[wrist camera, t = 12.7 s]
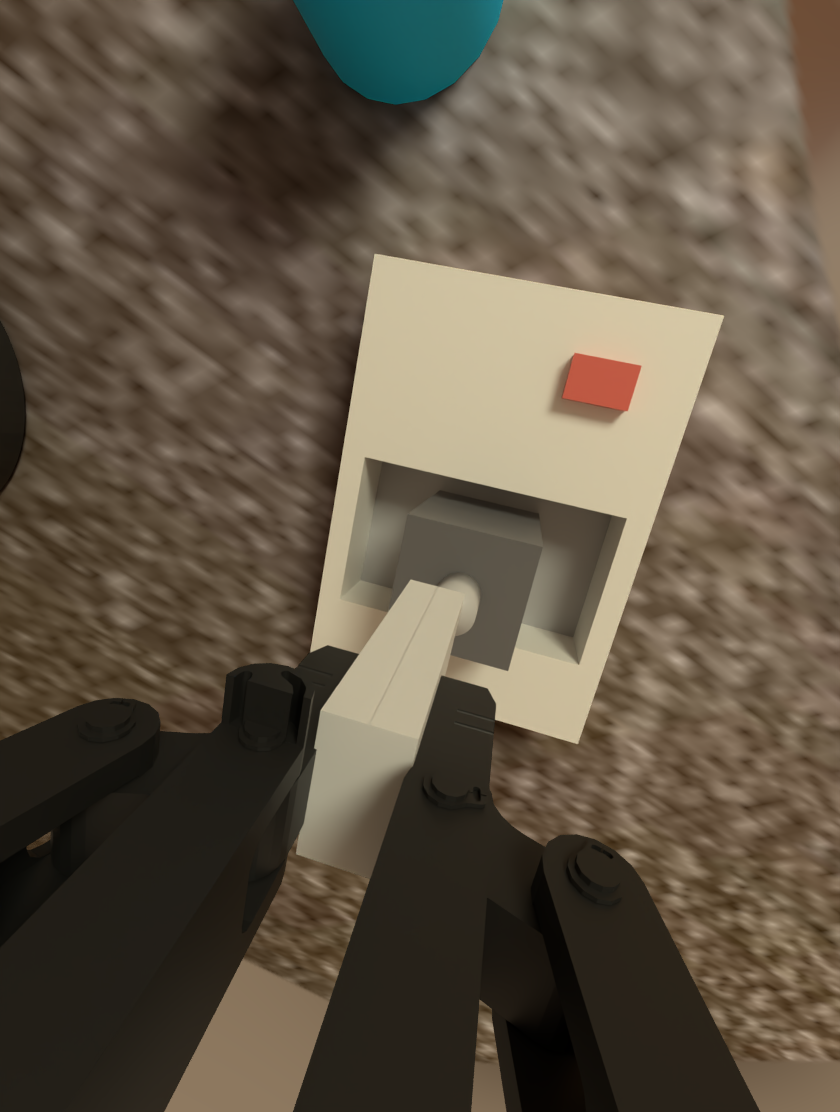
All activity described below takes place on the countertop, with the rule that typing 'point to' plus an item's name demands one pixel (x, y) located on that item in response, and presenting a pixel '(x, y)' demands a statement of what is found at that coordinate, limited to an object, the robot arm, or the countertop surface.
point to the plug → (474, 568)
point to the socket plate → (512, 457)
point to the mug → (400, 42)
